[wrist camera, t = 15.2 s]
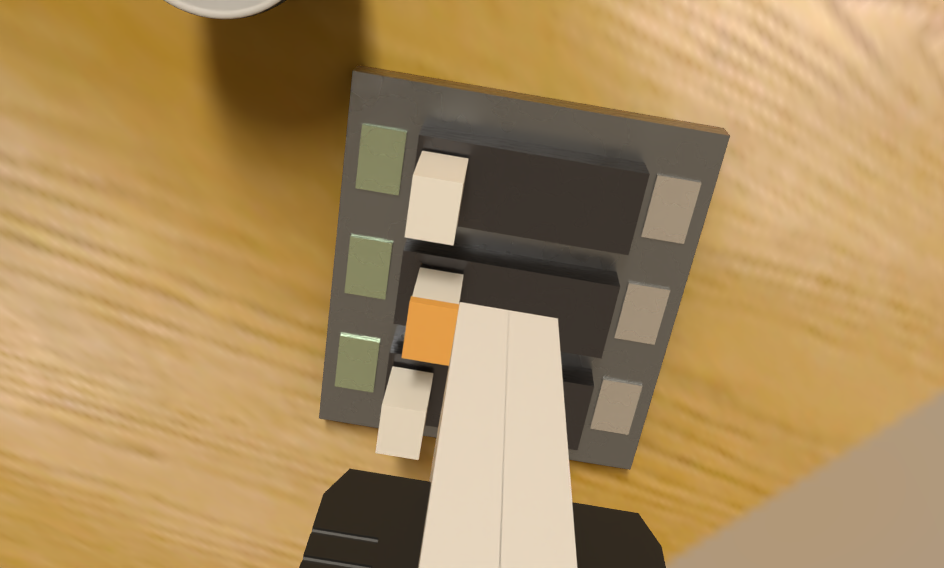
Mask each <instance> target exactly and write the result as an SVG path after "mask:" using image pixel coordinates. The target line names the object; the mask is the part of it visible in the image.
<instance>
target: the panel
mask: <svg viewBox="0 0 944 568" xmlns="http://www.w3.org/2000/svg"><path fill="white" fill-rule="evenodd" d="M729 138H730V135H729V134H728V133H727V131H726V130H725V129H724V128H719V127H714V126H708V125H702V124H696V123H690V122H685V121H679V120H673V119H667V118H661V117H656V116H650V115H644V114H638V113H632V112H627V111H621V110H615V109H609V108H603V107H598V106H592V105H586V104H580V103H574V102H569V101H563V100H557V99H551V98H545V97H540V96H534V95H528V94H522V93H516V92H511V91H505V90H499V89H493V88H487V87H482V86H476V85H470V84H464V83H458V82H453V81H447V80H441V79H435V78H429V77H424V76H418V75H412V74H406V73H400V72H395V71H389V70H383V69H377V68H371V67H366V66H360V65H358V66H357V67H356V68H355V69H354V70H353V73H352V83H351V94H350V104H349V114H348V125H347V135H346V145H345V156H344V166H343V176H342V186H341V197H340V207H339V217H338V228H337V238H336V248H335V259H334V269H333V279H332V290H331V300H330V310H329V320H328V331H327V341H326V351H325V362H324V372H323V382H322V393H321V403H320V413H319V418H320V419H326V420H332V421H338V422H344V423H351V424H357V425H363V426H369V427H375V428H379V423H380V416H381V408H382V403H383V399H384V396H385V392H386V388H387V385H388V381H389V377H390V374H391V370H392V366H394V367H400V368H406V369H412V370H418V371H424V372H430V373H433V379H432V386H431V392H430V398H429V404H428V410H427V416H426V422H425V427H424V433H423V436H429V437H435V438H437V432H438V426H439V420H440V414H441V409H442V403H443V397H444V391H445V385H446V379H447V374H448V368H449V366H447V365H441V364H435V363H429V362H423V361H417V360H411V359H405V358H402V351H403V344H404V337H405V330H406V323H407V316H408V309H409V302H410V298H411V296H412V295H413V291H414V288H415V284H416V280H417V277H418V273H419V269H420V267H421V268H427V269H433V270H439V271H445V272H451V273H457V274H463V281H462V288H461V294H460V301H459V304H460V302H463V303H469V304H475V305H481V306H486V307H492V308H498V309H504V310H510V311H516V312H522V313H528V314H534V315H540V316H546V317H552V318H558V327H559V340H560V352H561V365H562V378H563V391H564V404H565V417H566V429H567V442H568V455H569V460H575V461H581V462H587V463H593V464H599V465H605V466H611V467H618V468H624V469H631V466H632V462H633V459H634V456H635V452H636V449H637V446H638V442H639V439H640V436H641V432H642V429H643V425H644V422H645V419H646V415H647V412H648V409H649V405H650V402H651V399H652V395H653V392H654V389H655V385H656V382H657V379H658V375H659V372H660V369H661V365H662V362H663V359H664V355H665V352H666V348H667V345H668V342H669V338H670V335H671V332H672V328H673V325H674V322H675V318H676V315H677V312H678V308H679V305H680V302H681V298H682V295H683V292H684V288H685V285H686V281H687V278H688V275H689V271H690V268H691V265H692V261H693V258H694V255H695V251H696V248H697V245H698V241H699V238H700V235H701V231H702V228H703V225H704V221H705V218H706V215H707V211H708V208H709V204H710V201H711V198H712V194H713V191H714V188H715V184H716V181H717V178H718V174H719V171H720V168H721V164H722V161H723V158H724V154H725V151H726V148H727V144H728V141H729ZM422 151H427V152H433V153H439V154H445V155H451V156H457V157H462V158H468V165H467V171H466V177H465V183H464V189H463V196H462V202H461V208H460V214H459V219H458V225H457V230H456V235H455V240H454V245H447V244H441V243H435V242H429V241H423V240H418V239H412V238H406V237H405V230H406V223H407V215H408V208H409V200H410V193H411V186H412V178H413V173H414V171H415V168H416V166H417V163H418V160H419V158H420V155H421V153H422Z"/></svg>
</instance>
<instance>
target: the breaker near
mask: <svg viewBox="0 0 944 568" xmlns="http://www.w3.org/2000/svg"><path fill="white" fill-rule="evenodd" d="M467 165H468V158H462V157H457V156H451V155H445V154H439V153H433V152H427V151H422V153H421V155H420V158H419V160H418V163H417V166H416V168H415V171H414V173H413V178H412V186H411V193H410V200H409V208H408V215H407V223H406V230H405V237H406V238H412V239H418V240H423V241H429V242H435V243H441V244H447V245H454V240H455V235H456V230H457V225H458V219H459V214H460V208H461V202H462V196H463V189H464V183H465V177H466V171H467Z"/></svg>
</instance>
